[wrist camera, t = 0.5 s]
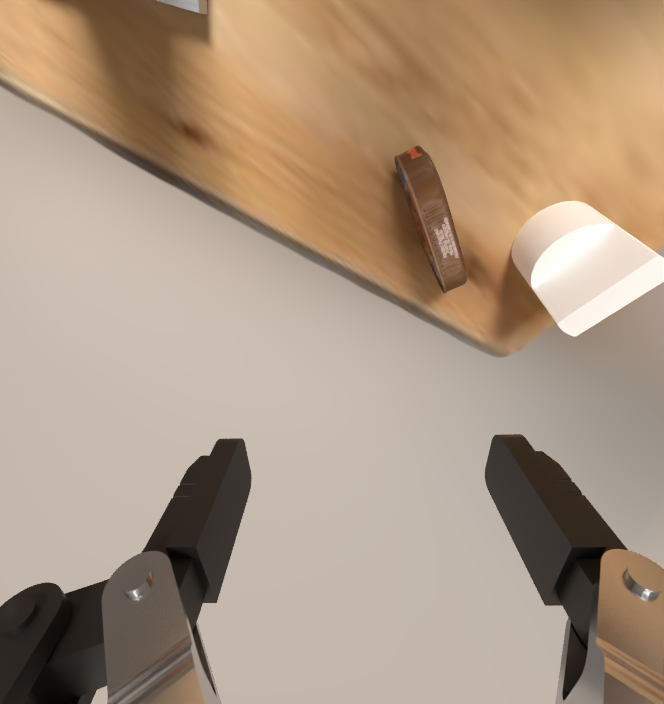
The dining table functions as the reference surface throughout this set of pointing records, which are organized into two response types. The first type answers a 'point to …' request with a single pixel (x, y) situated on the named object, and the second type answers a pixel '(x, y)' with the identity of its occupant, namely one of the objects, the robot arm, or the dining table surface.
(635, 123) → the dining table surface
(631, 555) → the robot arm
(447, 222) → the tin
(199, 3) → the grey stand
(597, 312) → the cylinder with rectangular tab
